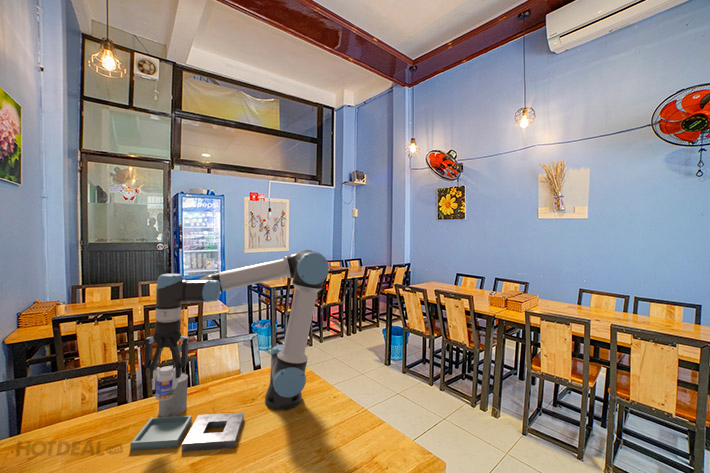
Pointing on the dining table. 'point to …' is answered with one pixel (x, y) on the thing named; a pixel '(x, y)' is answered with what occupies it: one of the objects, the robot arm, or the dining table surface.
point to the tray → (161, 433)
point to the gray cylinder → (175, 399)
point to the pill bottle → (164, 384)
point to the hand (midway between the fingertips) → (165, 387)
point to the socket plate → (211, 441)
